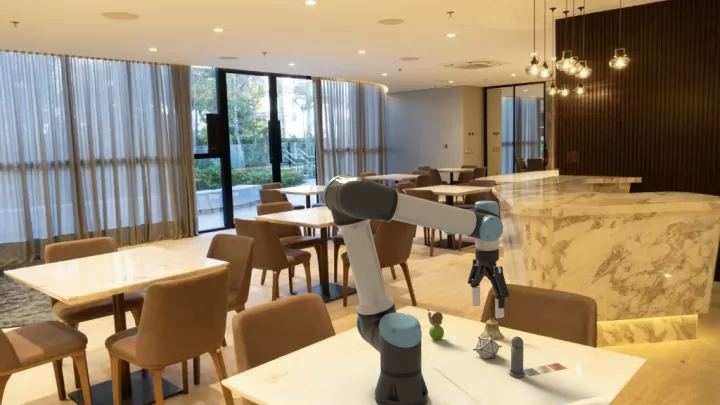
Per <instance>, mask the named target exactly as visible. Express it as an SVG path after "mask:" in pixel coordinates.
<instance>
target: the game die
mask: <svg viewBox="0 0 720 405" xmlns="http://www.w3.org/2000/svg"><path fill="white" fill-rule="evenodd" d="M477 337H478V341H477V343H476V346H475V348H473V349H472V351H473V352H474V351H475V352H476V353H477V354H478V355H479V356H480V358H481V359H483V360H487V359H492V358H496V357H497V355H498V352H499V350H500V348H502V347H503V345H500V344H498V343H497V341H496V340H494V339H493V338H492V334H491V335H490V337H485V338H483V337H481V336H477Z"/></svg>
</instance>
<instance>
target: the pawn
mask: <svg viewBox="0 0 720 405" xmlns="http://www.w3.org/2000/svg"><path fill="white" fill-rule="evenodd" d="M510 344H511V345H510V370H509V371H508V373H509V375H508V376H509V377H511V376H512V377H511V378H513V377H514V378H519V379H523V377H524V378H526V377H525V375H526V374H525V372H524V371H523V370H524V340H523V339H522V337H520V336H514V337H513V338H512V339H511V341H510ZM514 378H513V379H514Z"/></svg>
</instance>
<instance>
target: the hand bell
mask: <svg viewBox="0 0 720 405" xmlns="http://www.w3.org/2000/svg"><path fill="white" fill-rule="evenodd" d="M495 298H496V294H494V293H491V294H490V297H489V299H488V307H489V319H487V320H486V321H485V326H484V329H483V331H482V332H480V337H481V338H485V337H490V335H491V334H492V338H493V339H494V341H496V340H501V339H503V337H504V334H503V333H502V332H501V331H500V328H499V322H498V321H497V320H495V318H496V316H495Z"/></svg>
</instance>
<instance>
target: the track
mask: <svg viewBox="0 0 720 405" xmlns="http://www.w3.org/2000/svg"><path fill="white" fill-rule="evenodd" d="M566 369H567V370H568V367H566V366H565V365H562V364H561V363H559V362H554V363H551V364H545V365H541V366H535V367H530V368H525V369H523V371H524V372H525V377H523V378H529V377H533V376H538V375H542V374H548V373H552V372H553V373H554V372H555V371H557V372H558V371H563V370H566ZM506 375H508V376H510V375H509V372H506ZM510 377H511V378H513V379H514V380H518V379H520V378H514V377H512V376H510ZM523 378H522V379H523Z"/></svg>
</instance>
